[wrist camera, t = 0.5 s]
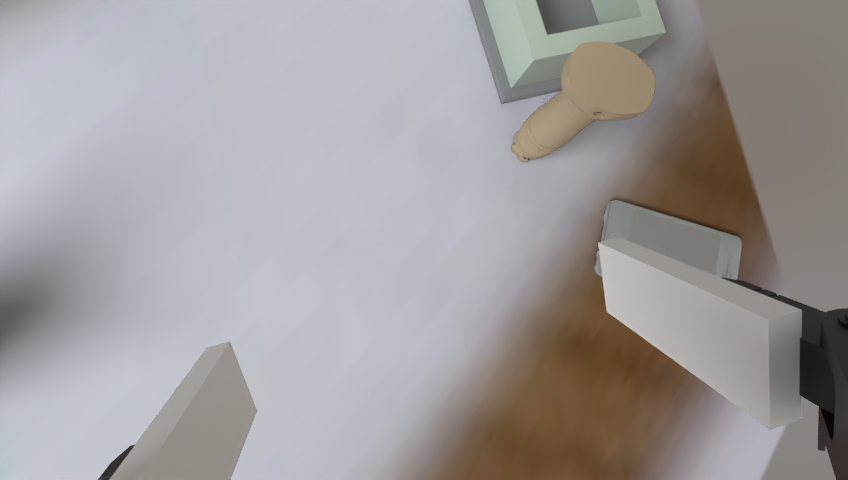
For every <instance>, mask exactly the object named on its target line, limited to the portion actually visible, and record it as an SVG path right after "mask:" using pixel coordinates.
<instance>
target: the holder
mask: <svg viewBox="0 0 848 480" xmlns="http://www.w3.org/2000/svg"><path fill="white" fill-rule="evenodd" d="M469 2H470V5H471V9H472V12H473V15H474V18H475V21H476V25H477V28H478V31H479V34H480V37H481V41H482V44H483V47H484V50H485V53H486V56H487V60H488V63H489V66H490V69H491V72H492V76H493V79H494V82H495V85H496V88H497V92H498V95H499V98H500V101H501V104H504V103H508V102H513V101H517V100H521V99H526V98H530V97H534V96H539V95H543V94H548V93H552V92H556V91H561V90H563V89H562V84H561V76H562V70H563V67H564V64H565V62H566V60H567V58H568V57H569V56H570V55H571V54H572V53H573V51H574V50H575V49H576V48H577V47H578V46H579V45H580V44H582V43H587V42H609V43H613V44H615V45H618V46H621V47H623V48H626V49H628V50H630V51H632V52H633V53H635V54H636V55H639V54H640V53H641V52H642V51H644V50H645V49H646V48H647V47H649V46H650V45H651V44H652V43H654V42H655V41H656V40H657V39H659V38H660V37H661V36H662V35H663V34H665V33H666V30H665V27H664V24H663V21H662V19H661V16H660V13H659V10H658V7H657V4H656V1H655V0H469Z"/></svg>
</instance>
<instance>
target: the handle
mask: <svg viewBox="0 0 848 480" xmlns="http://www.w3.org/2000/svg"><path fill="white" fill-rule="evenodd" d="M561 84H562V89H563V90H562V91H560V92H559V93H558V94H557V95H555V96H554V97H553V98H551V99H550V100H549V101H548V102H546V103H545V104H544V105H542V106H541V107H540V108H538V109H537V110H536V111H535V112H534V113H533V114H532V115H531V116H530V117H529V118H528V119H527V120H526V121H525V122H524V124H523V125H522V126H521V128H520V129H519V131H518V132H517V133H516V134H515V135H514V137H513V139H514V142H513V145H512V146H511V150H512V152H514V153H515V154H516V155H517V156H518V157H519V160H520V161H522V162H526V161H529V160H530V159H538V158H540V157H543V156H545V155H547V154H550V153H551V152H553V151H555V150H557V149H558V148H560V147H561V146H563V145H564V144H566V143H567V142H568V141H569V140H571V139H572V138H573V137H574V136H575V135H577V134H578V133H579V132H580V131H581V130H583V129H584V128H585V127H586V126H588V125H589V124H590V123H591V122H593V121H594V120H595V119H598V120H623V119H629V118H633V117H635V116H637V115H639V114H641V113H642V112H644V111H645V110H646V109H647V108H648V107H649V105H650V104H651V102H652V99H653V96H654V92H655V78H654V74H653V71H652V69H651V68H650V67H649V66H648V65H647V64H646V63H645V62H644V61H643V60H642V59H641V58H640V57H638V56H637V55H636V54H635V53H633V52H632V51H630V50H628V49H626V48H623V47H621V46H618V45H615V44H613V43H609V42H587V43H582V44H580V45H579V46H578V47H577V48H576V49H575V50H574V51H573V53H572V54H571V55H570V56H569V57H568V58H567V60H566V62H565V64H564V67H563V70H562V76H561Z"/></svg>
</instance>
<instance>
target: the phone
mask: <svg viewBox="0 0 848 480" xmlns="http://www.w3.org/2000/svg"><path fill="white" fill-rule="evenodd" d="M605 208H606V212H605V216H604V218H603V221H604V227H603V233H602V238H601V241H605V240H609V239H612V238H616V237H619V238H622V239H624V240H627V241H630V242H632V243H635V244H637V245H640V246H642V247H645V248H647V249H650V250H652V251H655V252H657V253H660V254H662V255H665V256H667V257H670V258H672V259H675V260H677V261H680V262H682V263H685V264H687V265H690V266H692V267H695V268H698V269H700V270H703V271H705V272H708V273H710V274H713V275H715V276H718V277H724V278H729V279H735V280H737V278H738V271H739V263H740V256H741V248H742V241H741V239H740V238H739V237H737V236H734V235H731V234H728V233H724V232H721V231H718V230H715V229H711V228H708V227H705V226H701V225H698V224H695V223H691V222H688V221H685V220H681V219H678V218H675V217H672V216H668V215H665V214H662V213H658V212H655V211H652V210H648V209H645V208H642V207H639V206H635V205H632V204H629V203H625V202H622V201H619V200H612V201H609V202H608V203H607V204H606V207H605ZM596 257H597V261H596V265H595V267H594V269H595V272H596V274H597V275H599V276H602V270H601V262H600V254H599V251H597V256H596Z"/></svg>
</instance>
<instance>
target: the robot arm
mask: <svg viewBox="0 0 848 480" xmlns="http://www.w3.org/2000/svg"><path fill="white" fill-rule="evenodd" d="M598 246H599V254H600V262H601V270H602V278H603V286H604V294H605V302H606V310H607V312H608V313H609V314H611V315H612V316H614V317H615V318H616V319H618V320H619V321H620V322H622V323H623V324H625V325H626V326H627V327H629V328H630V329H632V330H633V331H634V332H636V333H637V334H638V335H640V336H641V337H643V338H644V339H645V340H647V341H648V342H650V343H651V344H652V345H654V346H655V347H656V348H658V349H659V350H661V351H662V352H663V353H665V354H666V355H667V356H669V357H670V358H672V359H673V360H674V361H676V362H677V363H679V364H680V365H681V366H683V367H684V368H685V369H687V370H688V371H690V372H691V373H692V374H694V375H695V376H697V377H698V378H699V379H701V380H702V381H703V382H705V383H706V384H708V385H709V386H710V387H712V388H713V389H715V390H716V391H717V392H719V393H720V394H721V395H723V396H724V397H726V398H727V399H728V400H730V401H731V402H733V403H734V404H735V405H737V406H738V407H739V408H741V409H742V410H744V411H745V412H746V413H748V414H749V415H751V416H752V417H753V418H755V419H756V420H757V421H759V422H760V423H762V424H763V425H764V426H766V427H767V428H768V429H770V430H771V429H774V428H777V427H780V426H784V425H787V424H790V423H793V422H796V421H799V420H801V396H802V397H804V398H806V399H807V400H809V401H811V402H812V403H814V404H816V405H817V406H819V426H818V450H822V451H825V447H827V450H828V454H829V457H830V460H831V464H832V467H833V470H834V474H835V477H836V480H848V309H836V310H832V311H828V312H823V311H820V310H818V309H815V308H813V307H810V306H807V305H804V304H802V303H799V302H797V301H794V300H792V299H789V298H786V297H784V296H781V295H778V296H777V295H776V293H773V292H771V291H768V290H765V289H764V290H762V288H760V287H758V286H755V285H752V284H750V283H747V282H744V281H740V280H735V279H729V278H724V277H718V276H715V275H713V274H710V273H708V272H705V271H703V270H700V269H698V268H695V267H692V266H690V265H687V264H685V263H682V262H680V261H677V260H675V259H672V258H670V257H667V256H665V255H662V254H660V253H657V252H655V251H652V250H650V249H647V248H645V247H642V246H640V245H637V244H635V243H632V242H630V241H627V240H624V239H622V238H619V237H616V238H612V239H609V240H605V241H601V242H598ZM256 412H257V409H256V407H255V404H254V402H253V399H252V397H251V394H250V391H249V389H248V386H247V384H246V381H245V379H244V376H243V374H242V371H241V369H240V366H239V363H238V361H237V358H236V356H235V353H234V351H233V348H232V346H231V343H230V342H227V343H223V344H219V345H216V346H212V347H208V348H206V350H205V351H204V352H203V354H202V355H201V356H200V358H199V359H198V361H197V362H196V363H195V365H194V366H193V367H192V369H191V370H190V371H189V373H188V374H187V375H186V377H185V378H184V379H183V381H182V382H181V384H180V385H179V386H178V388H177V389H176V390H175V392H174V393H173V394H172V396H171V397H170V398H169V400H168V401H167V402H166V404H165V405H164V406H163V408H162V409H161V411H160V412H159V413H158V415H157V416H156V417H155V419H154V420H153V421H152V423H151V424H150V425H149V427H148V428H147V429H146V431H145V432H144V434H143V435H142V436H141V438H140V439H139V440H138V442H137V443H136V444H135V445H132V446H130V447H129V448H128V449H126V450H125V451H124V452H123V453H122V454H121V455H119V456H118V457H117V458H116V459H115V460H114V461H113V462H111V464H110V465H109V466H108V467H107V469H106V470H105V471H104V473H103V474H102V475H101V477H100V478H99V479H98V480H230V479H231V476H232V474H233V471H234V469H235V466H236V464H237V461H238V458H239V456H240V453H241V451H242V448H243V445H244V443H245V440H246V438H247V435H248V433H249V430H250V427H251V425H252V422H253V420H254V417H255V415H256Z"/></svg>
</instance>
